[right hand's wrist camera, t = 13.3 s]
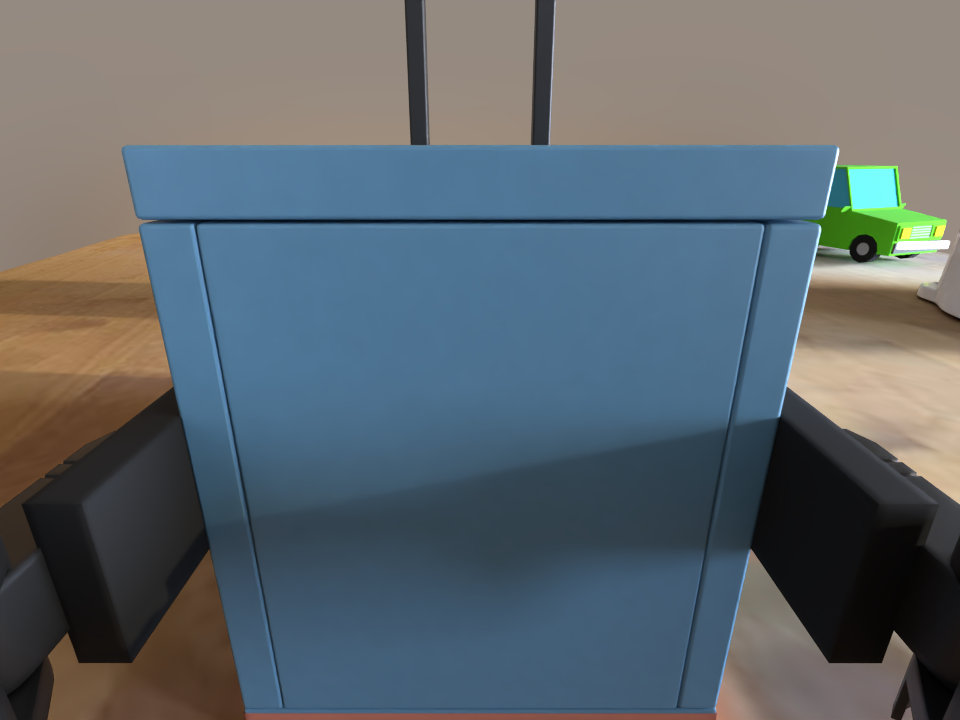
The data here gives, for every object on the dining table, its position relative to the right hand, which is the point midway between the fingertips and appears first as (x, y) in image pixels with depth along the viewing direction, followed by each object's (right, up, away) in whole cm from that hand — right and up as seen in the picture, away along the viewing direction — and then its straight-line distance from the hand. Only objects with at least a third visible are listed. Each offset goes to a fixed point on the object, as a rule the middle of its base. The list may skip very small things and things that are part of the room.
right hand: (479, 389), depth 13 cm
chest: (0, -4, +7) cm, 8 cm away
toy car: (+45, +13, +52) cm, 70 cm away
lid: (0, +6, +3) cm, 7 cm away
